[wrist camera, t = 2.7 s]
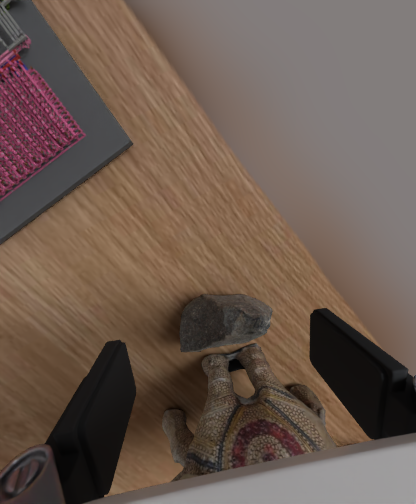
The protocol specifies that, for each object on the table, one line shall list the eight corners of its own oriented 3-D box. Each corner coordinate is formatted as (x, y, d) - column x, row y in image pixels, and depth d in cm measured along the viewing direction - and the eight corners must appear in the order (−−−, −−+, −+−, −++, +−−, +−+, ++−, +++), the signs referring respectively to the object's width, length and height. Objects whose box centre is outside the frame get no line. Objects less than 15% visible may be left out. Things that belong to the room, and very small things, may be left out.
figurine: (175, 311, 20) (-1, 507, 5) (325, 355, 18) (710, 853, 3) (155, 397, 21) (-48, 782, 6) (296, 448, 19) (509, 1184, 4)
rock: (175, 317, 18) (160, 375, 14) (207, 254, 14) (199, 307, 10) (238, 339, 19) (242, 400, 15) (284, 285, 15) (306, 345, 11)
